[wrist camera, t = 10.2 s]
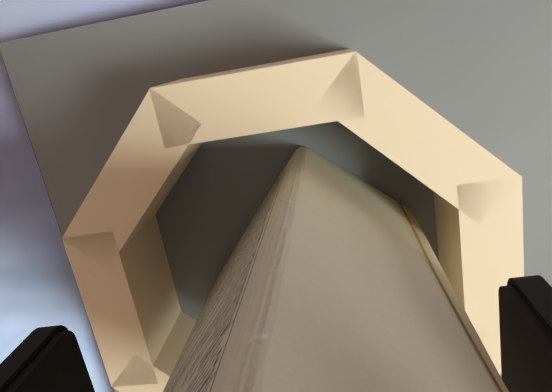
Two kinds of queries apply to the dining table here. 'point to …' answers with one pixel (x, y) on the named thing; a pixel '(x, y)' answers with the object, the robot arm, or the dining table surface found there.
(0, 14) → the dining table surface
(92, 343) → the dining table surface
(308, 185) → the skincare box
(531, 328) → the robot arm
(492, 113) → the collar board
